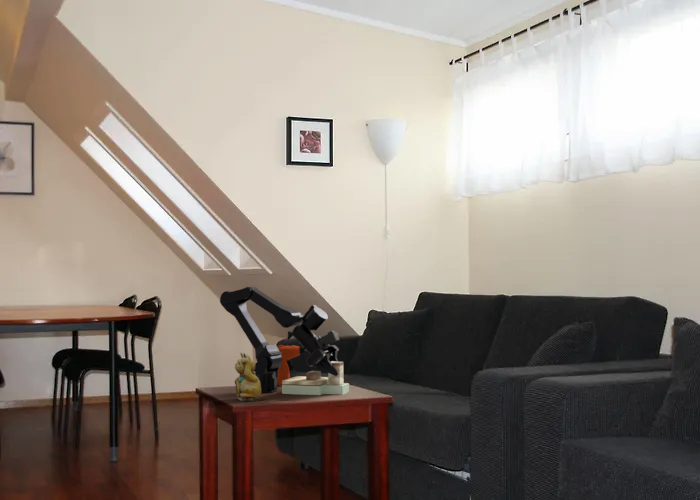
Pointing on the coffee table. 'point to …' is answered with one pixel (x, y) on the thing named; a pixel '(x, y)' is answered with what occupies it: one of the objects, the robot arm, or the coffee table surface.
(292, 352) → the toy drill
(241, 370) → the decorative figurine
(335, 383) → the cream upright cylinder
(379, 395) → the coffee table surface
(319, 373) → the lid
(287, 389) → the pale green tray
